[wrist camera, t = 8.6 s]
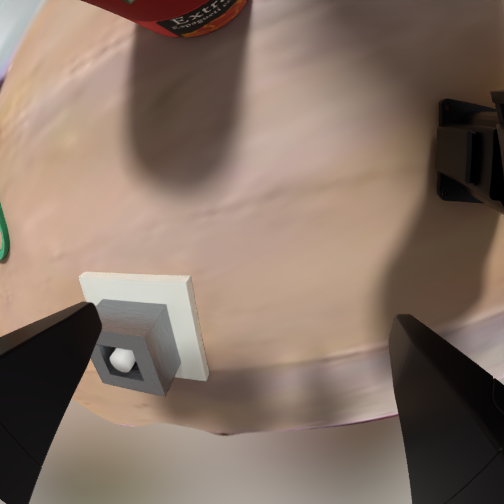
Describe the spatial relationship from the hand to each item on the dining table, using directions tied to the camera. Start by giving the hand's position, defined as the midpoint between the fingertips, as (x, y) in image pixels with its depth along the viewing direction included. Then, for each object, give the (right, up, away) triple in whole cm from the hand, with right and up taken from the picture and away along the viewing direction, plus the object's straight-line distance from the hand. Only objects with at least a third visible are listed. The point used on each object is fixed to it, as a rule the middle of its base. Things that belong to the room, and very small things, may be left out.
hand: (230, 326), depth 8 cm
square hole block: (-9, -5, +16) cm, 18 cm away
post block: (-8, -4, +17) cm, 19 cm away
